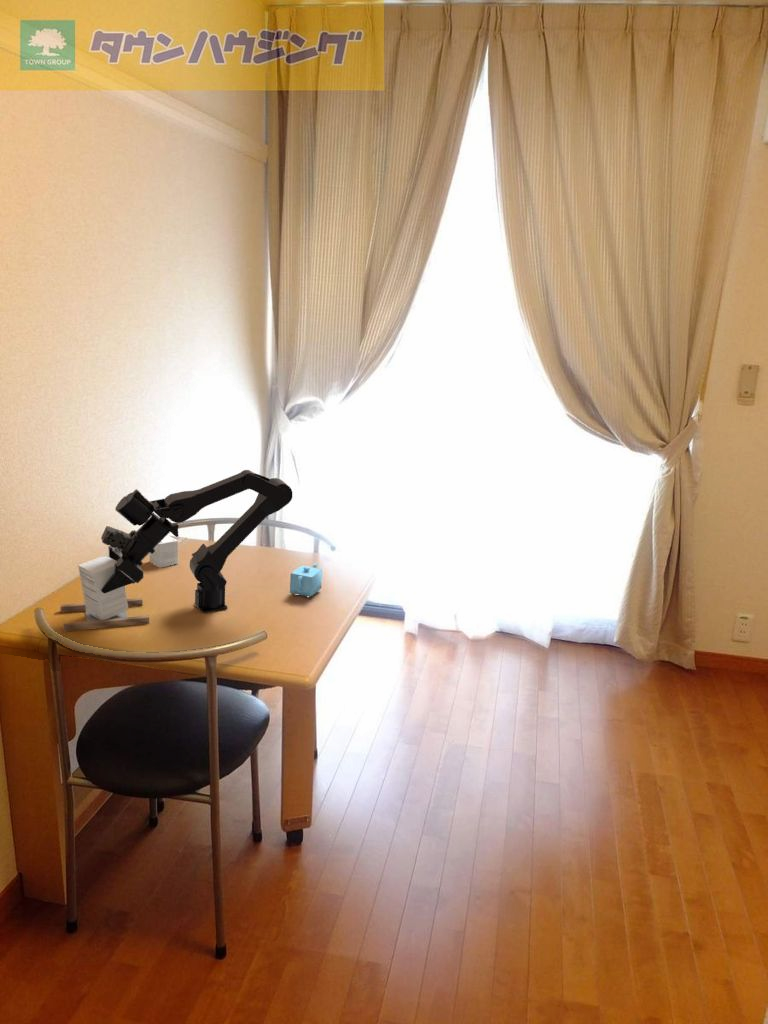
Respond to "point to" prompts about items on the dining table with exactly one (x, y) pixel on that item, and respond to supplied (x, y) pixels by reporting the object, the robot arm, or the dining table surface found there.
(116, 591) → the supplement box
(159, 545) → the skincare box
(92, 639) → the dining table surface
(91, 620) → the guide rails
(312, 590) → the pale blue boxy block
